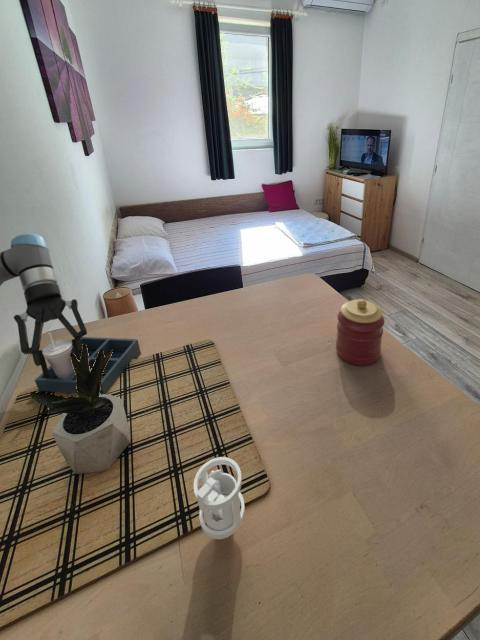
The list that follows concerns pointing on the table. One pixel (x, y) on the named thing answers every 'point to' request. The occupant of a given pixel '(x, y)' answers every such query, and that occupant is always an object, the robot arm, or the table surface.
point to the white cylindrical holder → (219, 499)
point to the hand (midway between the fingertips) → (64, 370)
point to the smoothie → (60, 357)
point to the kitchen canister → (359, 332)
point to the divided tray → (121, 350)
